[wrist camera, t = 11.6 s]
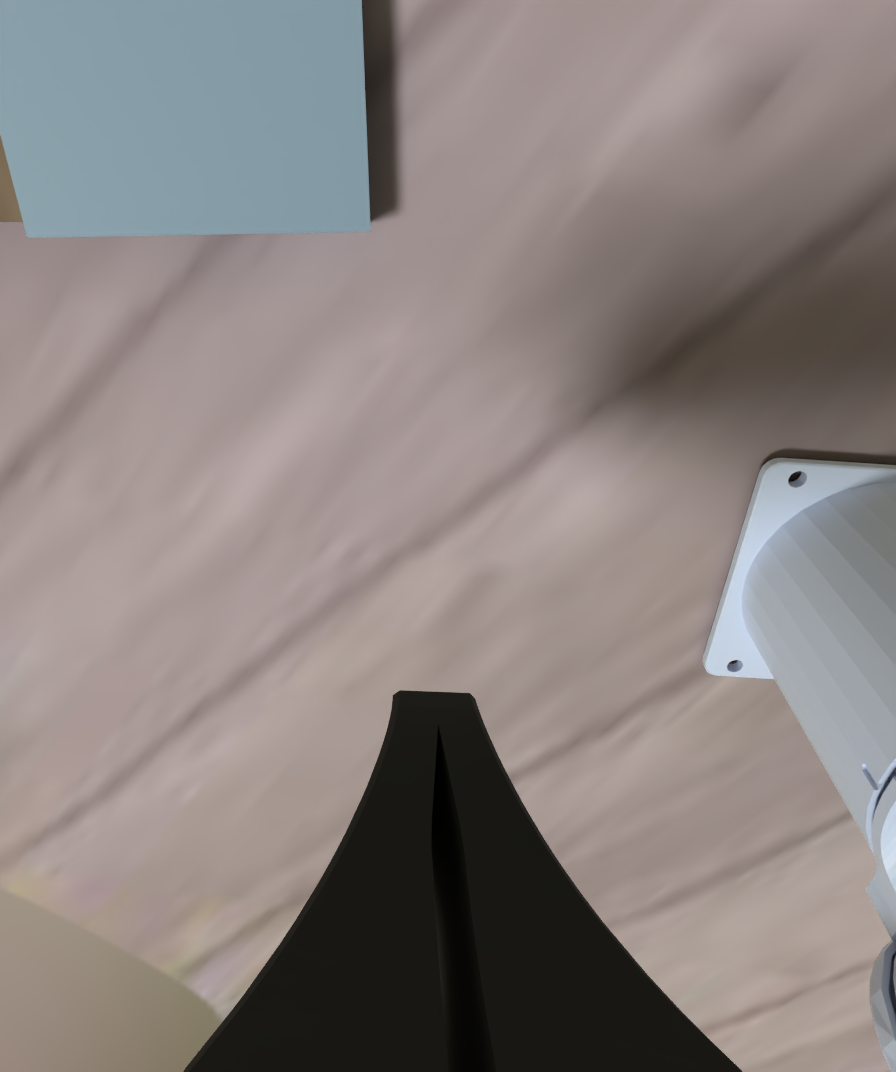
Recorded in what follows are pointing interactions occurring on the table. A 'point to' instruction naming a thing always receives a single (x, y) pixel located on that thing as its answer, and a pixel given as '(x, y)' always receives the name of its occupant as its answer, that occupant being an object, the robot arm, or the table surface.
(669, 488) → the table surface
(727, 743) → the table surface
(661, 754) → the table surface
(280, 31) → the domino
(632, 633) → the table surface
